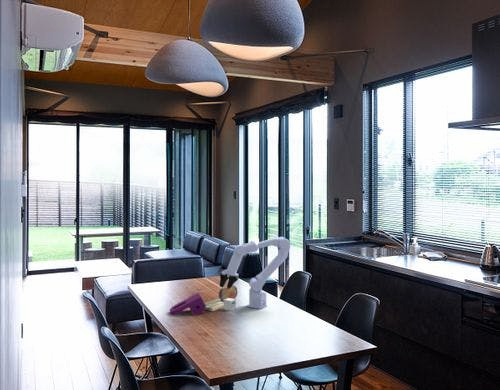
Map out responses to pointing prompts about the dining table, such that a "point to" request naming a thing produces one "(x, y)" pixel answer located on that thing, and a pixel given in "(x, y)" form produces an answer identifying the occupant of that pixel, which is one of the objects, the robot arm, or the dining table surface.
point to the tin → (227, 293)
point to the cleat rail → (214, 305)
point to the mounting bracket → (190, 305)
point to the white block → (229, 304)
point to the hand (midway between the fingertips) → (224, 287)
